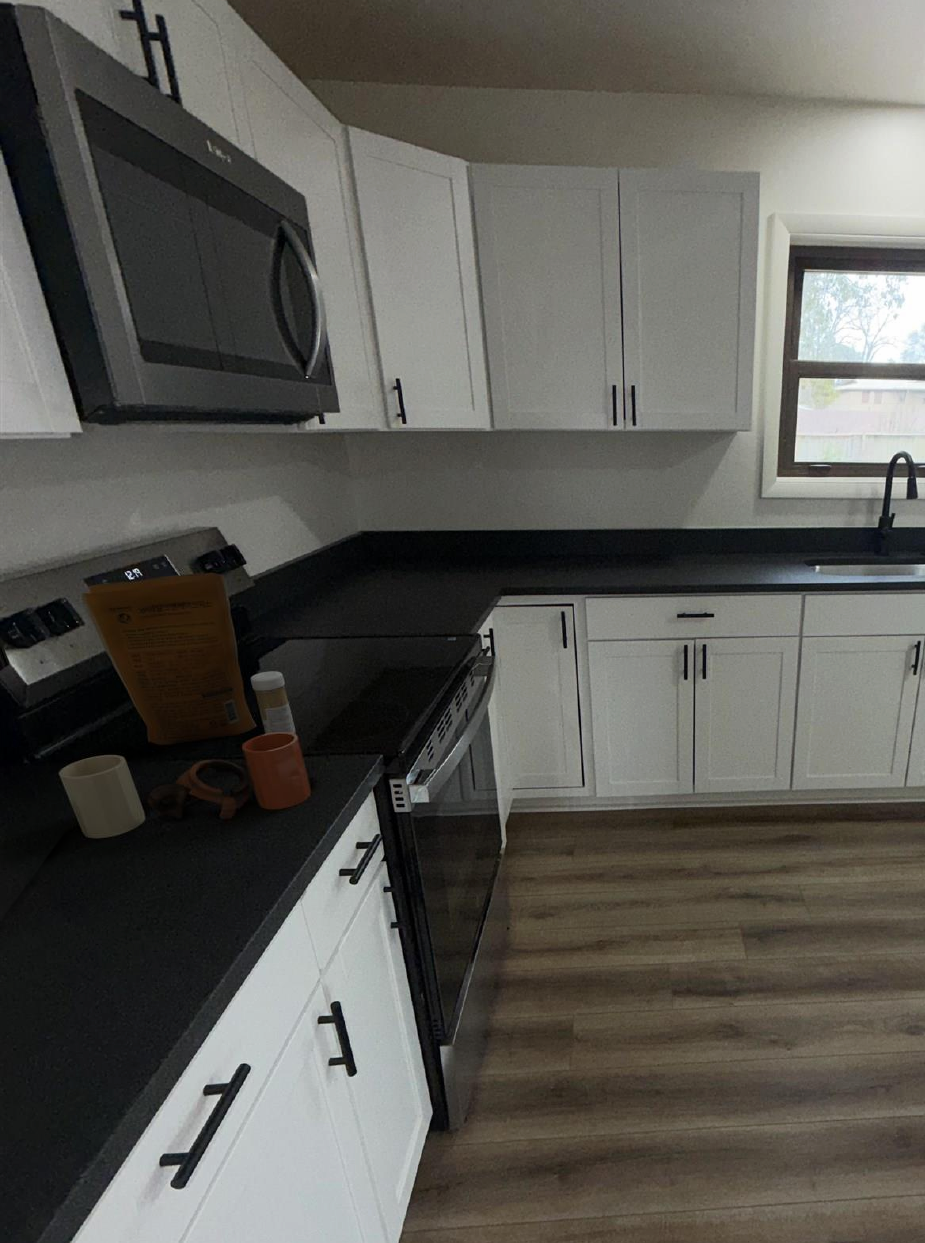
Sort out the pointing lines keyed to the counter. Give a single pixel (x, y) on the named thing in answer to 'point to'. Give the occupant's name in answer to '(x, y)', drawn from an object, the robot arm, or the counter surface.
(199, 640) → the pancake mix bag
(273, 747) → the terracotta cup
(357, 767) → the counter surface
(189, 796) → the reddish-brown ring-shaped piece
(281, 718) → the sprinkles bottle
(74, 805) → the cream cup
